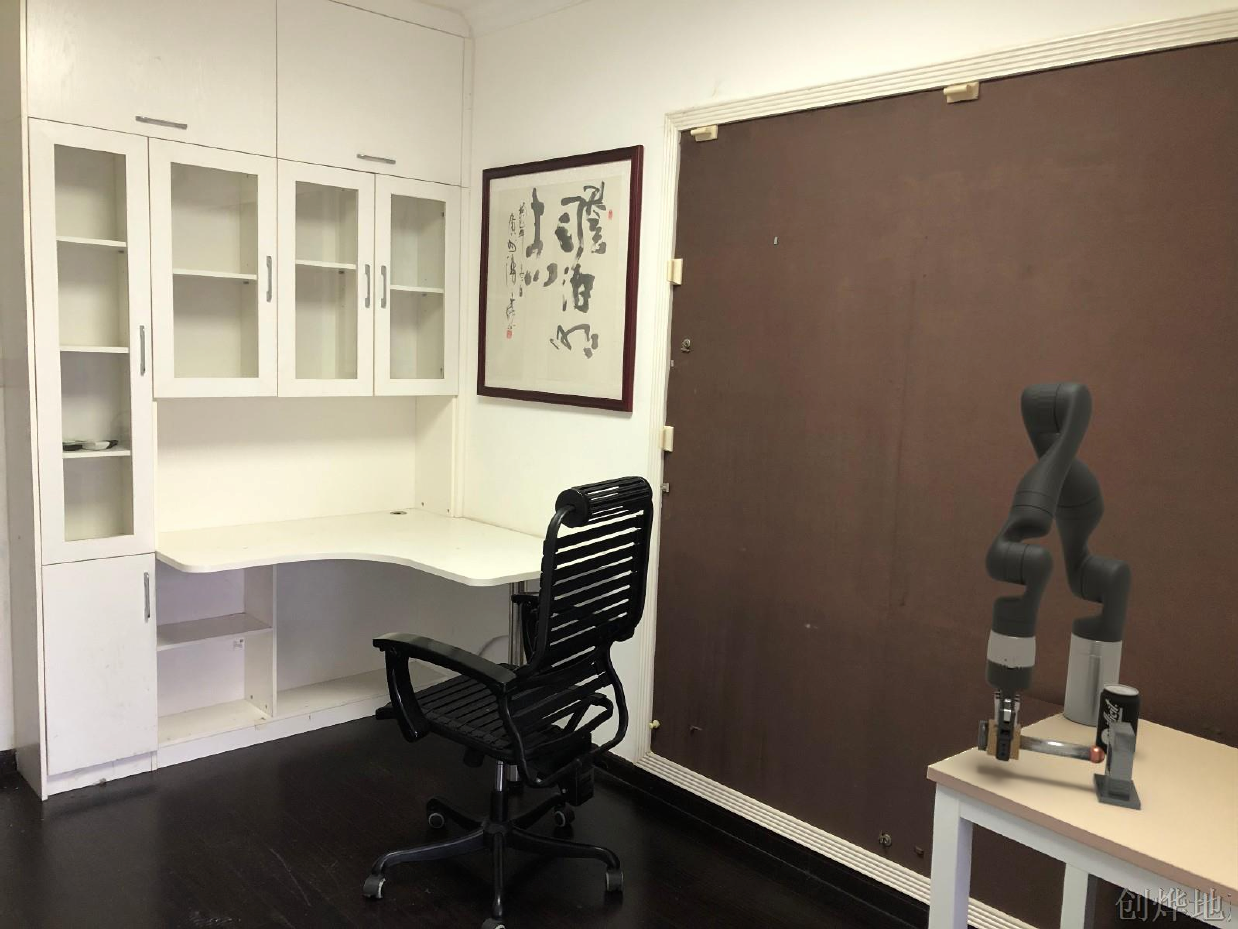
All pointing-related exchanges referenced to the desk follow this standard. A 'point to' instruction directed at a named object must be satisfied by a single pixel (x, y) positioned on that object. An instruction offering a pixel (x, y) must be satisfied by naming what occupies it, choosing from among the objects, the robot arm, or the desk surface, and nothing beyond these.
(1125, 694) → the beverage can
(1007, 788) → the desk surface
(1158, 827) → the desk surface
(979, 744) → the metal rod with knob
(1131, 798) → the square loop bracket
